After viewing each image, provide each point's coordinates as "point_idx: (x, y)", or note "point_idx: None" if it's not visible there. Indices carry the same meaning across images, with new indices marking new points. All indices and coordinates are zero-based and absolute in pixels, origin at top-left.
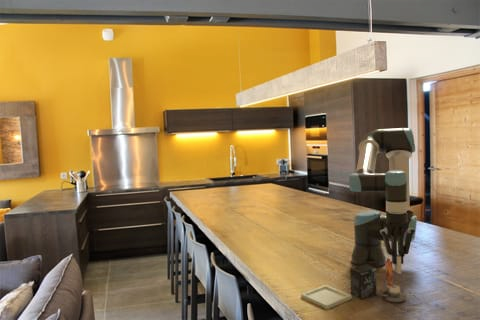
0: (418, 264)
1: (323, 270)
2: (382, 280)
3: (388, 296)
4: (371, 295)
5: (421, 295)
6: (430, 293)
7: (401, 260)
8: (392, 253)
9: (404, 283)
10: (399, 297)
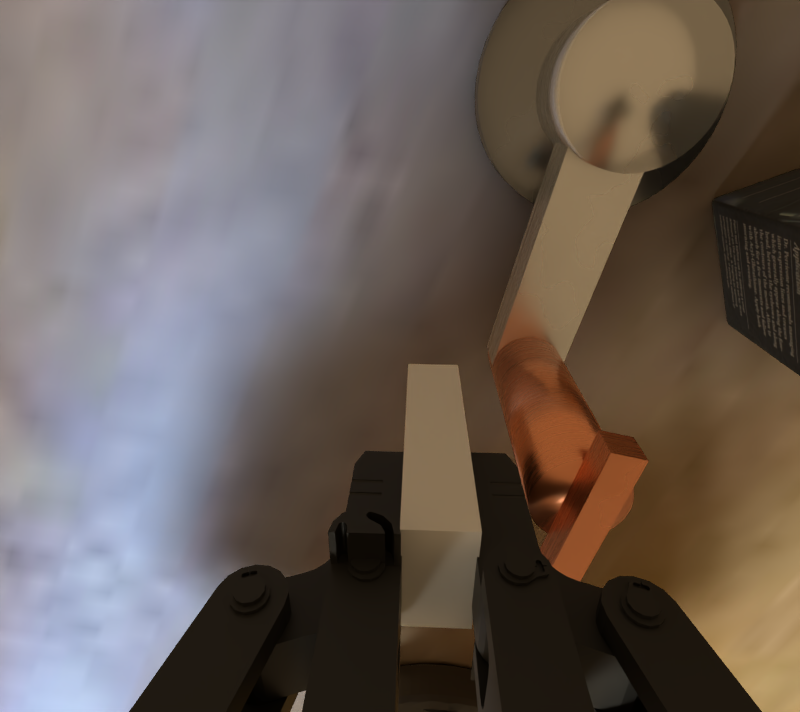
0: (127, 653)
1: (796, 677)
2: None
3: None
4: (790, 175)
5: (284, 130)
6: (183, 164)
7: (383, 490)
8: (577, 620)
9: (336, 403)
10: (572, 15)
